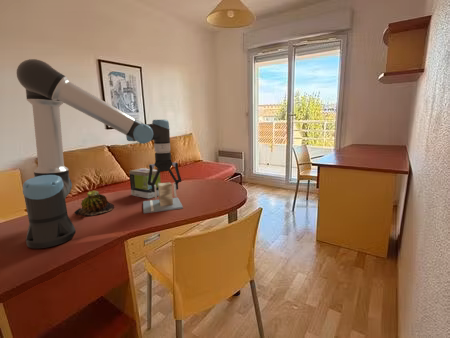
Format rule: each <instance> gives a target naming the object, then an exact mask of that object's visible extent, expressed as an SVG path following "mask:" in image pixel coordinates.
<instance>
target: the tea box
mask: <svg viewBox="0 0 450 338" xmlns="http://www.w3.org/2000/svg"><path fill="white" fill-rule="evenodd" d="M149 171H150V168H146V167H145V168H143V167H142V168H136V169H132V170H129V171H128V172H129V181H130V183H129V184H130V192H131V193H130V195H131V196H135V197H138V198H143V199H147V200H149V199H150V200H151V199H152V198H155V192H152V186H151V185H148V177H149ZM156 172H157V169H155V168H153V169H152V177H151V182H152V181H153V179H154V177H155V174H156ZM158 183H162V182H161V172H160V173H159V175H158V178H157V180H156V182H155V185H156V192H157V197H159V188H158Z"/></svg>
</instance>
